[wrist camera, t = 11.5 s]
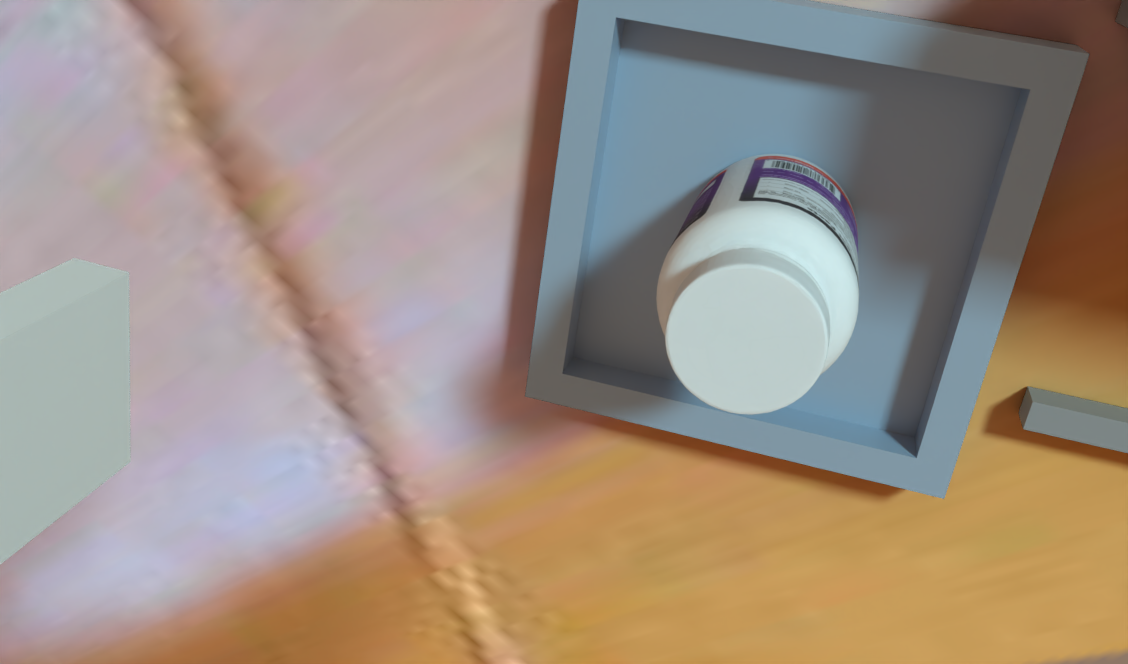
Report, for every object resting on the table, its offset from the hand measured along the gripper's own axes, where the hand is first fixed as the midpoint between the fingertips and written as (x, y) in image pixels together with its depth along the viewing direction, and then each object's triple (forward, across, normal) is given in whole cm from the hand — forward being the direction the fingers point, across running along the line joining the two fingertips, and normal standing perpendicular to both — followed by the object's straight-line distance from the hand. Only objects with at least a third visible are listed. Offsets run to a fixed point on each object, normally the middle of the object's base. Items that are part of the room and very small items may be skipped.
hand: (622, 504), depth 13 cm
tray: (+24, +1, -4) cm, 24 cm away
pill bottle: (+24, +1, -4) cm, 24 cm away
